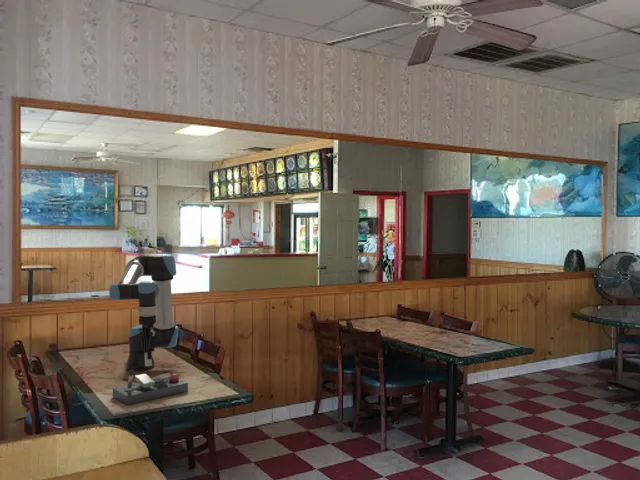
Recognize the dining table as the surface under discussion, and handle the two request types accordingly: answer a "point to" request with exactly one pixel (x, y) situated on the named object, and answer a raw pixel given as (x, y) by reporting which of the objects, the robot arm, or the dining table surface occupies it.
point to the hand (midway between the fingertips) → (148, 365)
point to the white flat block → (144, 380)
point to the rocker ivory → (161, 376)
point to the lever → (130, 378)
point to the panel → (149, 391)
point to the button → (174, 377)
